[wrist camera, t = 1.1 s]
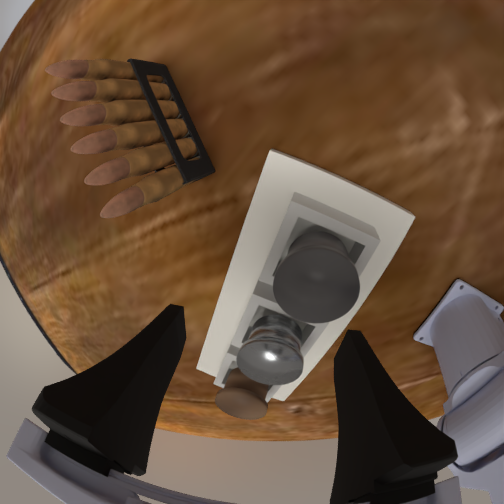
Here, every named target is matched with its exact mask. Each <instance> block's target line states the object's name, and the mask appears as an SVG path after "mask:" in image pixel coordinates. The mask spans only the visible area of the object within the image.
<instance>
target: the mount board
mask: <svg viewBox="0 0 504 504" xmlns="http://www.w3.org/2000/svg"><path fill="white" fill-rule="evenodd" d="M414 219H415V216H414V215H413V214H412V213H411V212H410V211H408V210H406V209H405V208H403V207H401V206H399V205H397V204H395V203H394V202H392V201H390V200H388V199H386V198H384V197H382V196H380V195H378V194H376V193H374V192H372V191H370V190H368V189H366V188H364V187H362V186H360V185H358V184H356V183H354V182H351V181H349V180H347V179H345V178H343V177H341V176H338V175H336V174H334V173H332V172H329V171H327V170H325V169H322V168H320V167H318V166H315V165H313V164H311V163H308V162H306V161H303V160H301V159H298V158H296V157H293V156H291V155H288V154H285V153H283V152H280V151H277V150H275V149H271V150H270V151H269V154H268V156H267V159H266V162H265V165H264V168H263V170H262V173H261V176H260V179H259V182H258V185H257V188H256V190H255V193H254V196H253V199H252V202H251V205H250V208H249V211H248V213H247V216H246V219H245V222H244V225H243V228H242V231H241V234H240V237H239V240H238V243H237V246H236V249H235V251H234V254H233V257H232V260H231V263H230V266H229V269H228V272H227V275H226V278H225V281H224V284H223V287H222V290H221V293H220V297H219V300H218V303H217V306H216V309H215V312H214V315H213V318H212V321H211V324H210V327H209V330H208V333H207V337H206V340H205V343H204V346H203V349H202V352H201V355H200V359H199V362H198V365H197V368H196V369H198V370H201V371H203V372H205V373H208V374H210V375H212V376H215V377H216V379H215V381H214V384H215V385H217V386H220V387H222V388H224V386H225V384H226V381H227V378H228V376H229V373H230V371H231V370H232V369H234V368H237V367H238V365H237V362H236V358H237V354H238V352H239V349H240V347H241V345H242V344H243V343H244V342H246V341H247V340H248V339H249V336H250V333H251V330H252V327H253V325H254V323H255V322H256V321H257V320H258V319H259V318H261V317H263V316H267V315H281V316H285V317H288V318H290V319H292V320H293V321H295V322H296V323H297V324H298V325H299V327H300V328H301V331H302V342H301V350H300V352H301V353H302V355H303V358H304V365H303V372H302V374H301V376H300V377H299V378H298V379H297V380H295V381H293V382H291V383H289V384H285V385H269V387H268V391H267V395H266V399H265V400H266V402H268V401H269V400H270V399H271V398H275V399H278V400H281V401H284V400H285V399H286V398H287V397H288V396H289V395H290V394H291V393H292V392H293V390H294V389H295V388H296V387H297V386H298V385H299V384H300V383H301V382H302V380H303V379H304V378H305V377H306V376H307V375H308V374H309V372H310V371H311V370H312V369H313V368H314V366H315V365H316V364H317V363H318V362H319V360H320V359H321V358H322V357H323V356H324V354H325V353H326V352H327V351H328V349H329V348H330V347H331V346H332V344H333V343H334V342H335V340H336V339H337V338H338V337H339V335H340V334H341V333H342V331H343V330H344V329H345V327H346V326H347V325H348V323H349V322H350V321H351V319H352V318H353V316H354V315H355V314H356V312H357V311H358V309H359V308H360V307H361V305H362V304H363V302H364V301H365V299H366V298H367V296H368V295H369V294H370V292H371V291H372V289H373V288H374V286H375V285H376V283H377V281H378V280H379V278H380V277H381V275H382V274H383V272H384V271H385V269H386V267H387V266H388V264H389V262H390V261H391V259H392V258H393V256H394V254H395V253H396V251H397V249H398V247H399V246H400V244H401V242H402V241H403V239H404V237H405V235H406V233H407V232H408V230H409V228H410V226H411V224H412V222H413V221H414ZM313 231H323V232H327V233H330V234H332V235H334V236H336V237H337V238H339V239H340V240H341V241H342V242H343V244H344V245H345V247H346V249H347V252H348V256H349V258H350V259H351V260H352V262H353V263H354V265H355V267H356V269H357V272H358V276H359V281H360V293H359V297H358V299H357V301H356V303H355V305H354V306H353V307H352V309H351V310H350V311H349V312H348V313H346V314H345V315H344V316H342V317H340V318H339V319H336V320H334V321H331V322H327V323H307V322H303V321H299V320H297V319H295V318H293V317H291V316H289V315H288V314H287V313H285V312H284V311H283V310H282V309H281V307H280V306H279V305H278V303H277V301H276V299H275V297H274V293H273V281H274V277H275V273H276V270H277V268H278V266H279V264H280V263H281V261H282V260H283V259H284V258H285V257H286V256H287V253H288V250H289V247H290V246H291V244H292V243H293V242H294V241H295V239H297V238H298V237H299V236H301V235H303V234H305V233H308V232H313Z"/></svg>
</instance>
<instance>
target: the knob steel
mask: <svg viewBox="0 0 504 504" xmlns="http://www.w3.org/2000/svg"><path fill="white" fill-rule="evenodd" d="M301 342H302V331H301V328H300V327H299V325H298V324H297V323H296V322H295V321H293V320H292V319H290V318H288V317H285V316H281V315H267V316H263V317H261V318H259V319H258V320H257V321H256V322H255V323H254V325H253V327H252V330H251V333H250V336H249V339H248V340H247V341H246V342H244V343H243V344H242V345H241V347H240V349H239V352H238V354H237V358H236V362H237V365H238V368H239V369H240V370H241V372H242V373H243V374H244V375H246V376H247V377H248V378H250V379H252V380H254V381H256V382H259V383H262V384H267V385H285V384H289V383H291V382H293V381H295V380H297V379H298V378H299V377H300V376H301V374H302V372H303V365H304V358H303V355H302V353H301V352H300V350H301Z"/></svg>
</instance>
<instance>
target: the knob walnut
mask: <svg viewBox="0 0 504 504" xmlns="http://www.w3.org/2000/svg"><path fill="white" fill-rule="evenodd" d="M268 387H269V385H267V384H262V383H259V382H256V381H254V380H252V379H250V378H248V377H247V376H246V375H244V374H243V373H242V372H241V370H240V369H239V368H238V367H237V368H234V369H232V370H231V371H230V373H229V376H228V378H227V381H226V384H225V386H224V388H223V389H221V390H220V391H219V392H218V393H217V396H216V398H215V403H216V405H217V406H218V407H219V408H220V409H221V410H222V411H224V412H225V413H227V414H229V415H231V416H234V417H237V418H241V419H249V420H253V419H259V418H262V417H264V416H265V415H266V412H267V408H268V404H267V402H266V400H265V399H266V395H267V391H268Z"/></svg>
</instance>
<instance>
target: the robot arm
mask: <svg viewBox="0 0 504 504" xmlns="http://www.w3.org/2000/svg"><path fill="white" fill-rule="evenodd" d="M461 285H462V286H461ZM460 286H461V287H460ZM503 309H504V307H503V306H502V304H500V303H498V302H497V301H495V300H494V299H492V298H490V297H489V296H487V295H486V294H484V293H482V292H481V291H479V290H477V289H476V288H474V287H472V286H471V285H469V284H467V283H466V282H464V281H462V280H460V279H457V280H456V281H455V282H454V283H453V285H452V286H451V288H450V289H449V290H448V292H447V293H446V295H445V296H444V297H443V299H442V300H441V301H440V303H439V304H438V305H437V307H436V308H435V309H434V311H433V312H432V313H431V314H430V316H429V317H428V318H427V319H426V321H425V322H424V323H423V324H422V326H421V327H420V328H419V329H418V330H417V332H416V333H415V334H414V336H413V337H414V340H416V341H418V342H421V343H424V344H427V345H430V346H433V347H434V349H435V352H436V355H437V359H438V362H439V365H440V368H441V372H442V375H443V379H444V382H445V386H446V390H447V394H448V398H449V399H448V400H447V401H446V402H445V403H444V404H443V407H444V412H445V414H444V415H443V416H442V417H441V418H440V419H439V421H438V424H437V427H435V426H434V425H433V424H432V423H431V422H429V421H428V420H427V419H426V418H425V417H424V416H423V415H422V414H421V413H420V412H419V411H418V410H417V409H416V408H415V407H414V406H413V405H412V404H411V403H410V402H409V401H408V399H407V398H406V397H405V396H404V395H403V394H402V392H401V391H400V390H399V389H398V387H397V386H396V385H395V383H394V382H393V381H392V379H391V378H390V376H389V375H388V374H387V372H386V371H385V369H384V368H383V366H382V364H381V363H380V361H379V360H378V358H377V357H376V355H375V353H374V352H373V350H372V349H371V347H370V345H369V344H368V342H367V340H366V339H365V337H364V336H363V334H362V332H361V331H358V330H348V331H347V333H346V335H345V337H344V339H343V341H342V343H341V345H340V347H339V349H338V351H337V353H336V355H335V357H334V384H335V392H336V401H337V411H338V422H339V434H338V452H337V463H336V472H335V478H334V483H333V489H332V493H331V498H330V504H462V501H461V491H460V487H464V488H469V489H476V490H484V491H488V492H489V494H490V498H491V501H492V504H504V322H503V320H502V318H501V317H500V314H501V312H502V311H503ZM185 341H186V329H185V318H184V307H183V306H178V305H173V304H170V305H168V306H167V307H166V308H165V309H164V310H163V311H162V312H161V313H160V314H159V315H158V316H157V317H156V318H155V319H154V320H153V321H152V322H151V323H150V324H149V325H147V326H146V327H145V328H144V329H143V330H142V331H141V332H140V333H139V334H137V335H136V336H135V337H134V338H133V339H131V340H130V341H129V342H128V343H127V344H125V345H124V346H123V347H122V348H120V349H119V350H117V351H116V352H115V353H113V354H112V355H110V356H109V357H107V358H106V359H104V360H103V361H101V362H99V363H98V364H96V365H94V366H93V367H91V368H89V369H87V370H85V371H83V372H81V373H79V374H77V375H75V376H73V377H70V378H68V379H66V380H63V381H60V382H57V383H54V384H51V385H48V386H45V387H44V388H43V390H42V391H41V393H40V394H39V396H38V398H37V400H36V401H35V403H34V405H33V407H32V411H33V413H34V414H35V415H36V416H37V417H38V418H39V419H40V420H41V421H42V422H43V423H44V424H45V425H47V426H48V427H49V428H50V431H49V433H47V432H46V431H44V430H43V429H42V428H40V427H38V426H37V425H36V424H34V423H33V422H31V421H30V420H29V419H27V418H25V419H24V421H23V423H22V425H21V427H20V429H19V431H18V433H17V435H16V437H15V439H14V441H13V443H12V445H11V447H10V449H9V451H8V453H7V458H8V459H9V460H10V461H12V462H13V463H14V464H15V465H16V466H17V467H18V468H20V469H21V470H22V471H23V472H25V473H26V474H27V475H28V476H29V477H31V478H32V479H33V480H34V481H36V482H37V483H38V484H39V485H41V486H42V487H43V488H44V489H46V490H47V491H49V492H50V493H51V494H52V495H54V496H55V497H57V498H58V499H59V500H61V501H62V502H64V503H65V504H151V503H148V502H145V501H142V500H140V498H139V496H138V495H137V494H139V495H142V496H145V497H148V498H151V499H154V500H157V501H160V502H163V503H167V504H235V503H228V502H222V501H216V500H210V499H205V498H201V497H195V496H191V495H187V494H183V493H179V492H175V491H172V490H168V489H165V488H162V487H158V486H155V485H152V484H149V483H146V482H144V481H141V480H138V479H135V478H133V477H130V476H127V475H125V474H124V472H125V473H127V474H130V475H131V474H134V475H137V476H141V475H143V474H145V473H146V468H147V462H148V456H149V451H150V446H151V442H152V437H153V433H154V429H155V425H156V421H157V417H158V414H159V410H160V407H161V403H162V401H163V398H164V395H165V393H166V390H167V388H168V386H169V383H170V381H171V379H172V376H173V374H174V372H175V369H176V367H177V365H178V362H179V360H180V358H181V354H182V351H183V348H184V344H185ZM446 466H447V467H448V468H449V469H450V470H451V471H452V473H453V475H454V476H455V477H453V478H450V479H447V480H445V481H442V482H439V483H436V484H434V479H436V478H437V477H438V476H437V471H439V470H441V469H443V468H445V467H446Z"/></svg>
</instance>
